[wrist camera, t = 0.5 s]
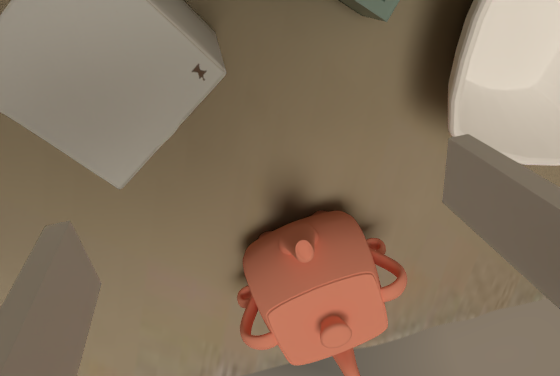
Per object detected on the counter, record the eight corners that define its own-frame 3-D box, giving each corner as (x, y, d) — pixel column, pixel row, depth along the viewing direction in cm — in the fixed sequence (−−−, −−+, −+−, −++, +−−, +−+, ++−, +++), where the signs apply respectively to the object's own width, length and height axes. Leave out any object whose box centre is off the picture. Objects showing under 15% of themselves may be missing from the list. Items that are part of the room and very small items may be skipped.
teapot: (272, 170, 39) (303, 246, 28) (394, 223, 46) (457, 301, 35) (210, 278, 44) (215, 378, 34) (327, 312, 51) (364, 404, 40)
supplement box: (124, -61, 28) (65, -89, 15) (218, 33, 32) (234, 73, 19) (50, 34, 30) (-57, 81, 17) (148, 111, 34) (120, 195, 21)
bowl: (655, -71, 35) (777, -82, 28) (543, 142, 44) (613, 175, 37) (462, -137, 30) (550, -173, 23) (380, 120, 39) (424, 154, 32)
